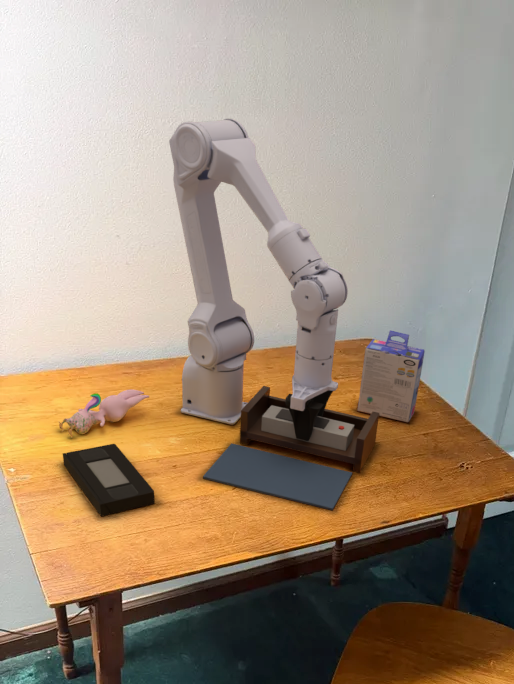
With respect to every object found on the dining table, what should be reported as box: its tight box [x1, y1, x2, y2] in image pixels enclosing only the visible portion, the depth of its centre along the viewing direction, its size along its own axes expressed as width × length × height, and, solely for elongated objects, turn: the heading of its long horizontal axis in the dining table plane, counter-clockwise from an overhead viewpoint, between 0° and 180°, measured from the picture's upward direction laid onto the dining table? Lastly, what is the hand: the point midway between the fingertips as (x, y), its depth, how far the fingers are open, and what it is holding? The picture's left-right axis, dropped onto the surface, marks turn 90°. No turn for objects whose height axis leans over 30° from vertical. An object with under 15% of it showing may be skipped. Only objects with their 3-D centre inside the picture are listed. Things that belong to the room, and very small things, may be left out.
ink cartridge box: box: [356, 330, 426, 423], centre depth 139 cm, size 10×6×14 cm, turn 78°
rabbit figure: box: [58, 388, 150, 439], centre depth 123 cm, size 6×6×15 cm
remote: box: [261, 405, 354, 451], centre depth 125 cm, size 14×4×3 cm, turn 78°
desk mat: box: [202, 442, 353, 511], centre depth 120 cm, size 20×11×1 cm, turn 78°
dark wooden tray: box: [239, 385, 380, 474], centre depth 127 cm, size 20×10×6 cm, turn 78°
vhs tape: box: [62, 443, 156, 517], centre depth 111 cm, size 8×14×2 cm, turn 37°
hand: (307, 432), depth 126 cm, fingers closed on remote, 4 cm apart
